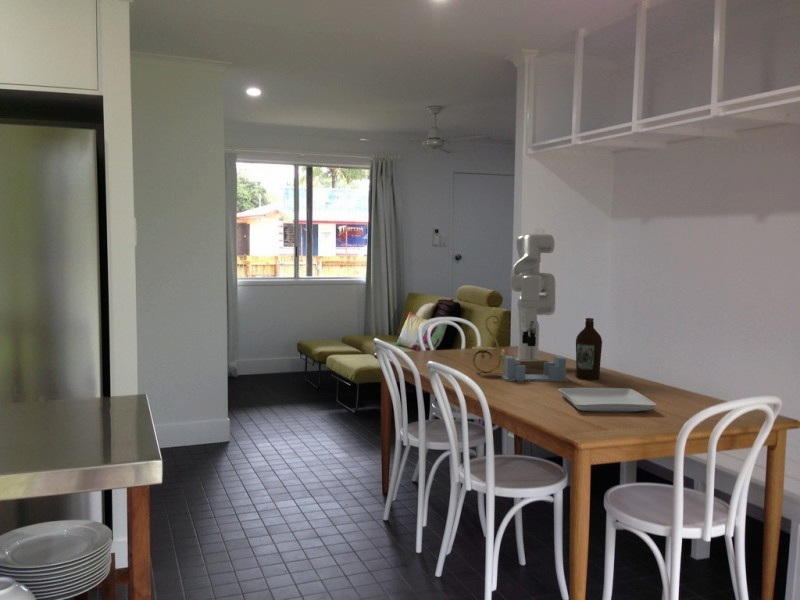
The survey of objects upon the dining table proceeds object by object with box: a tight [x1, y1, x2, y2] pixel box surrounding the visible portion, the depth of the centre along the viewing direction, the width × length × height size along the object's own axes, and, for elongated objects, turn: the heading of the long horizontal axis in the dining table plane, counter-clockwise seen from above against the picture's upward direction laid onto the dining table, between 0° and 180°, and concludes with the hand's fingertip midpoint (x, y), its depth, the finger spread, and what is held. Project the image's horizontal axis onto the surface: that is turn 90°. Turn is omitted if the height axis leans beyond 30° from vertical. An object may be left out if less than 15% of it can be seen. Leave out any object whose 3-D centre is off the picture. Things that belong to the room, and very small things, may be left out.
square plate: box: [557, 387, 658, 413], centre depth 246 cm, size 27×27×4 cm
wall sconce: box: [471, 314, 506, 373], centre depth 304 cm, size 14×10×25 cm
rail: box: [515, 359, 549, 374], centre depth 303 cm, size 4×16×6 cm, turn 99°
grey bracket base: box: [500, 355, 570, 382], centre depth 292 cm, size 10×26×9 cm, turn 93°
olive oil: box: [575, 317, 603, 381], centre depth 295 cm, size 11×11×25 cm
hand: (528, 344), depth 302 cm, fingers open, 9 cm apart
